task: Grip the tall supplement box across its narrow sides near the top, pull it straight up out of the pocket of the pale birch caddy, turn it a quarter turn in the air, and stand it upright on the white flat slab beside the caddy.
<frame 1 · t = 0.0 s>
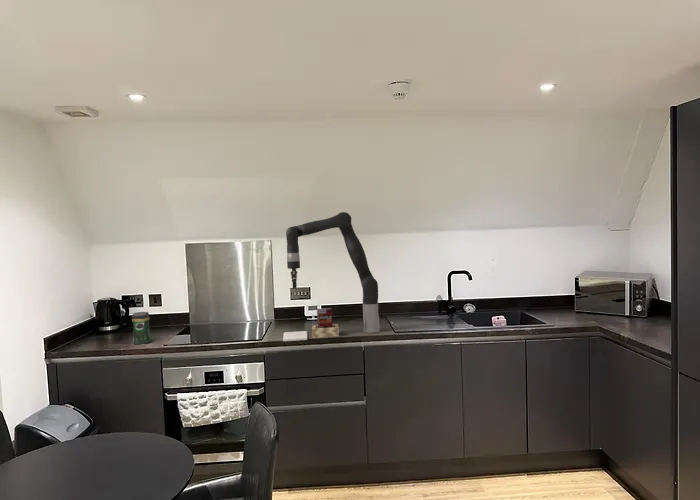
hand: (294, 287, 315), 29 cm above the table, tool pointing down, fingers open, 8 cm apart
supplement box: (325, 335, 316), resting in birch caddy
coffee jar: (142, 343, 316), on the table
white flat slab: (295, 336, 315), on the table
birch caddy: (325, 335, 316), on the table
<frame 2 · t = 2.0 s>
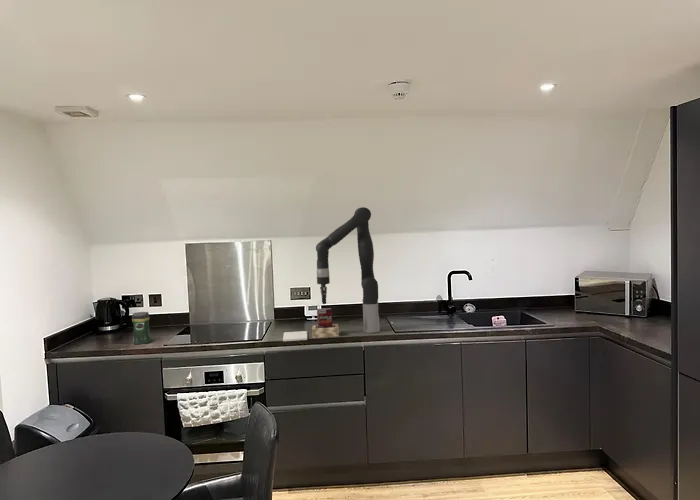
hand: (324, 302, 315), 19 cm above the table, tool pointing down, fingers open, 8 cm apart
nothing on the table moved.
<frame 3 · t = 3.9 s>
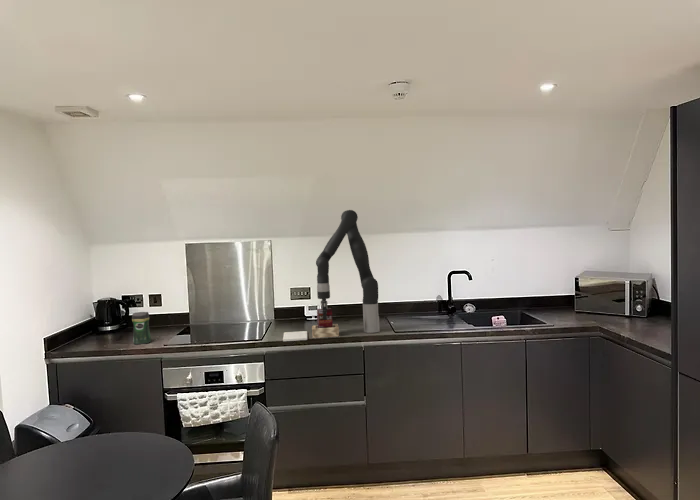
hand: (324, 318, 316), 10 cm above the table, tool pointing down, fingers closed on supplement box, 5 cm apart
supplement box: (325, 335, 316), resting in birch caddy, touching gripper
everything else where it was.
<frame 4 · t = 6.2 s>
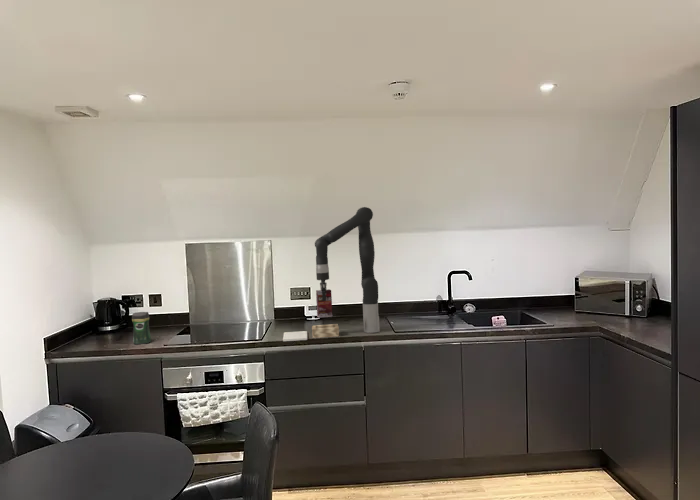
hand: (324, 299, 315), 21 cm above the table, tool pointing down, fingers closed on supplement box, 5 cm apart
supplement box: (325, 316, 316), point 11 cm above the table, touching gripper
everything else where it was.
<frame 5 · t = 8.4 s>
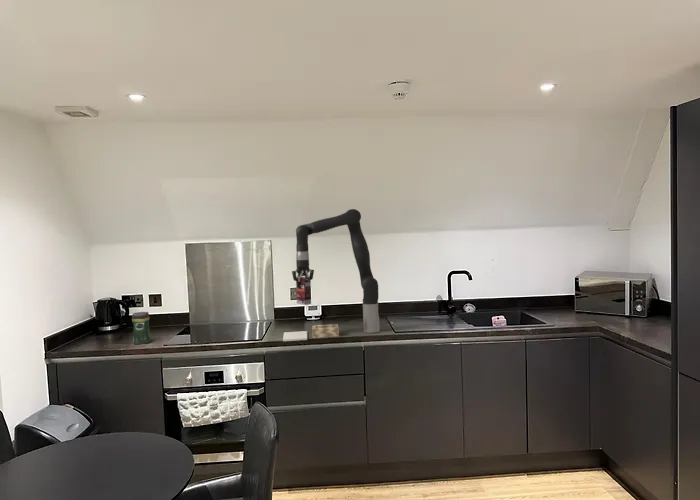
hand: (303, 287, 314), 29 cm above the table, tool pointing down, fingers closed on supplement box, 5 cm apart
supplement box: (303, 304, 315), point 19 cm above the table, touching gripper
everything else where it was.
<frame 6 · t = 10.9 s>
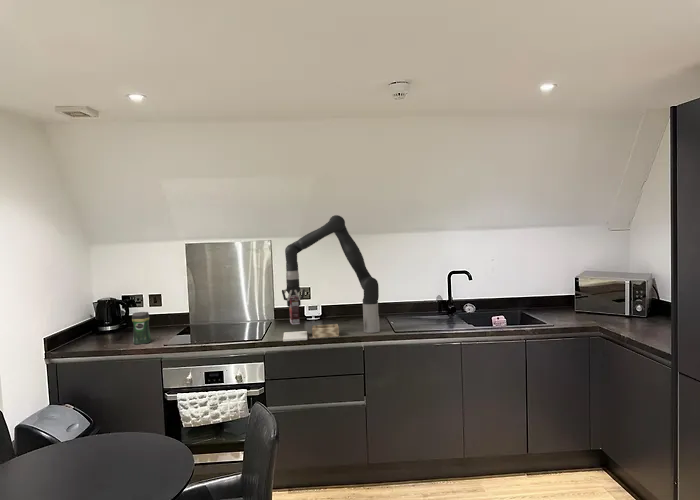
hand: (294, 306, 314), 18 cm above the table, tool pointing down, fingers closed on supplement box, 5 cm apart
supplement box: (294, 323, 314), point 8 cm above the table, touching gripper
everything else where it was.
when the fingers open (12 cm above the table, at t = 12.9 s): supplement box drops 1 cm, resting on white flat slab.
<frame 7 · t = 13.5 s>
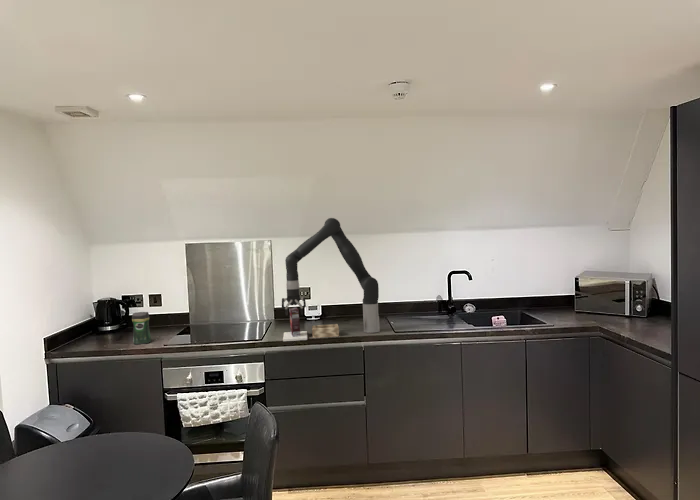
hand: (294, 315, 314), 13 cm above the table, tool pointing down, fingers open, 8 cm apart
supplement box: (295, 335, 315), point 1 cm above the table, touching white flat slab
everything else where it was.
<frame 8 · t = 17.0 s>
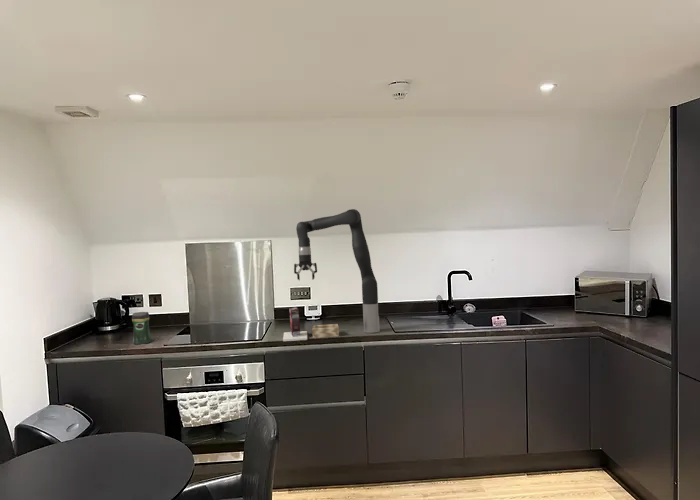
hand: (306, 280, 328), 32 cm above the table, tool pointing down, fingers open, 8 cm apart
nothing on the table moved.
at the end: supplement box inside the target area on the white flat slab (0.1 cm from its centre), point 0.8 cm above the white flat slab's base; supplement box tilted 0°; the gripper is holding nothing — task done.
